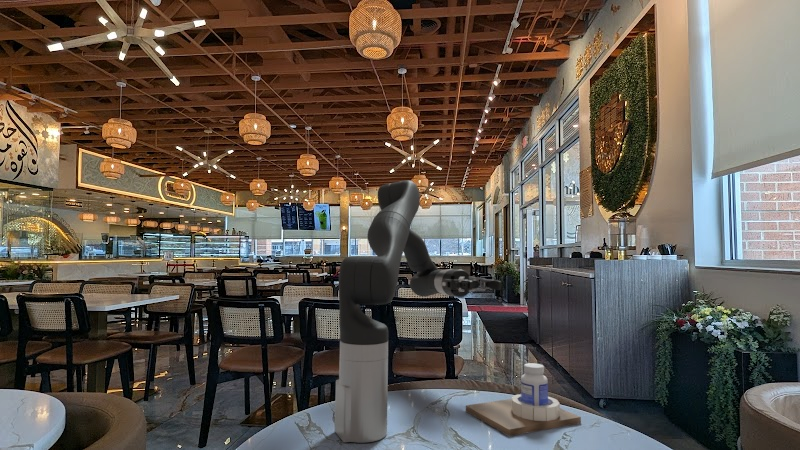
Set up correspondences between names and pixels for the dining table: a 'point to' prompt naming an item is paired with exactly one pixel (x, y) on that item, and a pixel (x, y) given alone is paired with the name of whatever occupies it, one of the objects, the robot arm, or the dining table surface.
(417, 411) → the dining table surface
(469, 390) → the dining table surface
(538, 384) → the pill bottle
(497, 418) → the socket board
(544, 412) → the socket sleeve
